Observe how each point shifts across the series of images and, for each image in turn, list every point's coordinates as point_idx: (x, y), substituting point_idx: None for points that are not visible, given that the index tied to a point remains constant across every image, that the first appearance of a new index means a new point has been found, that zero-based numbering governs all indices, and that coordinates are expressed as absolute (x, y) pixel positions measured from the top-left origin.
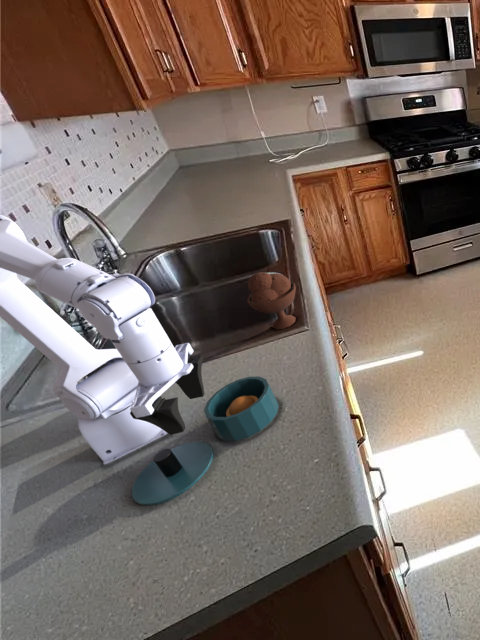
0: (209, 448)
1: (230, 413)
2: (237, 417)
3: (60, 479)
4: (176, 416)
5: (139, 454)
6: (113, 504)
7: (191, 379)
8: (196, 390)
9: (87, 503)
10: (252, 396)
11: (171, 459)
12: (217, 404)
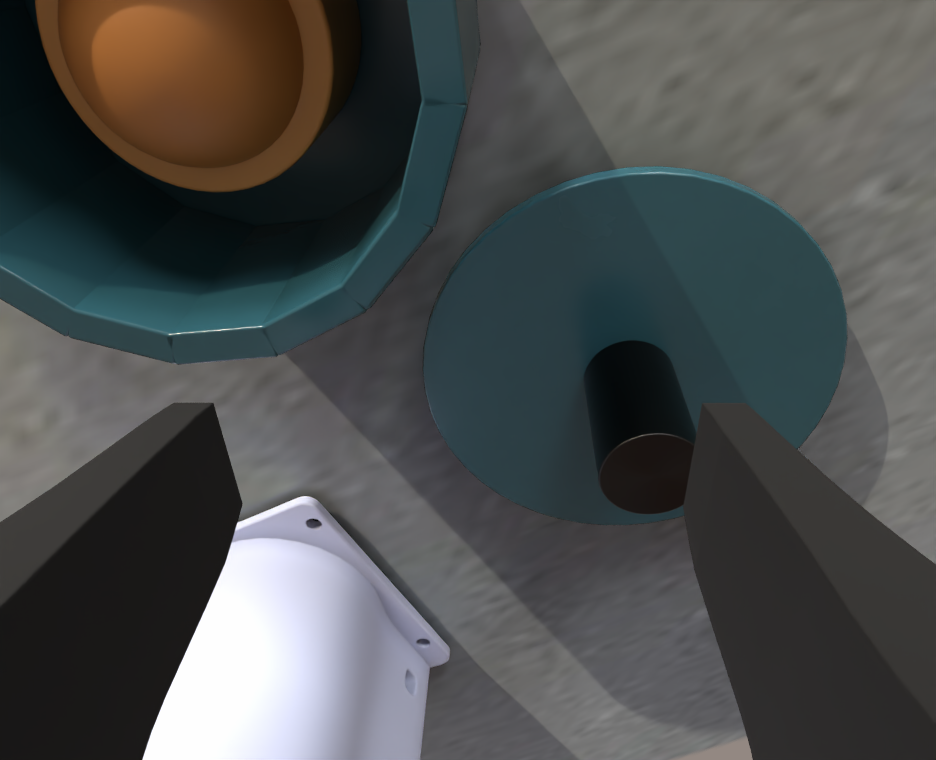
0: (519, 222)
1: (276, 132)
2: None
3: (467, 738)
4: (931, 581)
5: (413, 564)
6: (688, 549)
7: (65, 655)
8: (175, 499)
9: (633, 631)
10: None
11: (669, 408)
12: (171, 285)
